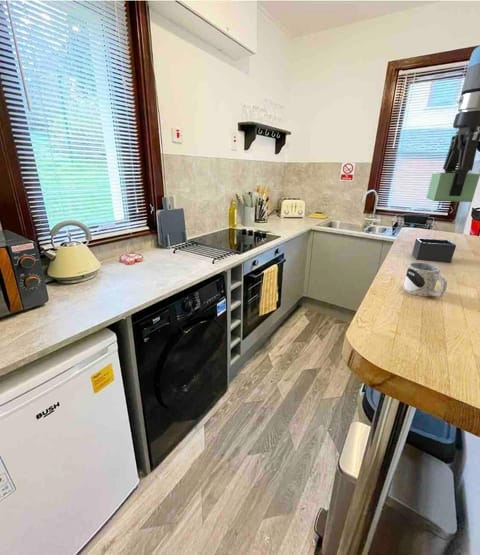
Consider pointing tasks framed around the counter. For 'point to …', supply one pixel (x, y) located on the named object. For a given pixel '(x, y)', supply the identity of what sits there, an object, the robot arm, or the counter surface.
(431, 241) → the charcoal basket
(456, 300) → the counter surface
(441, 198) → the green basket
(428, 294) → the mug
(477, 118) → the robot arm
